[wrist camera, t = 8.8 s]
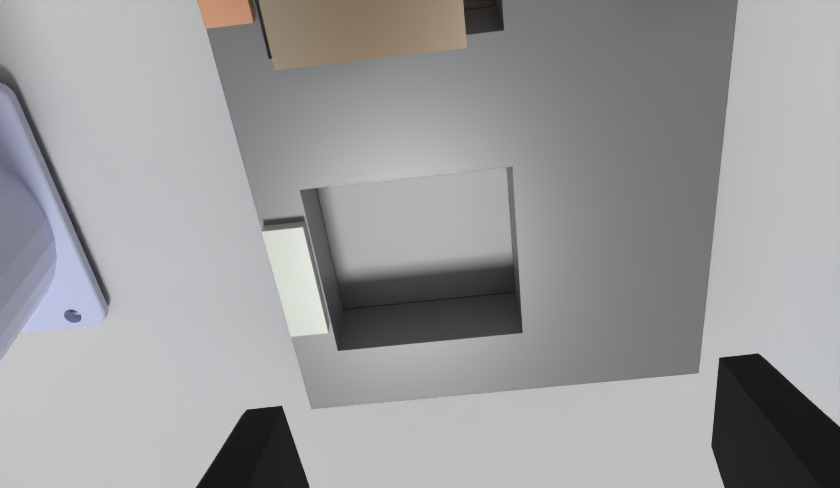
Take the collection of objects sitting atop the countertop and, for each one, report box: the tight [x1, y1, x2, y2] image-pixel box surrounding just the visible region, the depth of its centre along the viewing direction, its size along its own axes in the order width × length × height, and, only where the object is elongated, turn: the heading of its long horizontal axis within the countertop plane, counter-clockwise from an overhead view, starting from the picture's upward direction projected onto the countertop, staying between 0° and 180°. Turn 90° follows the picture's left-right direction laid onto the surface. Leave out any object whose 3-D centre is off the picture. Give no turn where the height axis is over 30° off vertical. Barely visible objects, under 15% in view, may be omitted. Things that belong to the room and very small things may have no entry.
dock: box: [198, 0, 738, 409], centre depth 19 cm, size 12×20×2 cm, turn 7°
